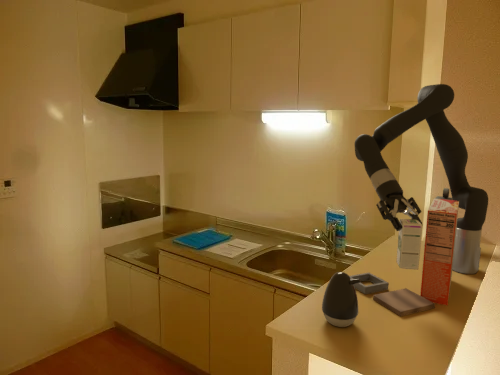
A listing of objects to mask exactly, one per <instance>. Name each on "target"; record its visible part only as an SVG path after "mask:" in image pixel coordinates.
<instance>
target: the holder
mask: <svg viewBox="0 0 500 375" xmlns="http://www.w3.org/2000/svg"><path fill="white" fill-rule="evenodd" d="M349 276H350V278H351V279H360V283H356V284H354V287H355V290H357V291H359V292H361V293H362V294H364V295H368V294H373V293H378V292H382V291H383V292H384V291H388V290H389V282H387V281H386V280H384V279H383V278H381V277H378V276H377V275H375V274H373V273H371V272H363V273H360V274H352V275H349ZM365 281H369V282H371V283H372V284H368V285H366V284H363V282H365Z"/></svg>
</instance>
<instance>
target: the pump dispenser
mask: <svg viewBox="0 0 500 375" xmlns="http://www.w3.org/2000/svg"><path fill="white" fill-rule="evenodd" d="M350 276H351V275H349V274H348V273H347V272H343V271H337V272H335V273H334V274H333V275H332V276H331V278H330V279H329V281H328V283H327V285H326V288H325V290H324V294H323V298H322V304H321V311H322V313H323V316H324V319H325V320H326V321H327V322H328V323H329V324H331V325H333V326H335V327H338V328H346V327H348V326H350V325H352V324H353V323H355V320H356V319H357V316H358V314H359V299H358V294H357V291H356V290H357V289H356V288H355V287H354V284H356V283H361V282H360V279H351V278H350Z"/></svg>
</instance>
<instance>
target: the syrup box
mask: <svg viewBox="0 0 500 375" xmlns="http://www.w3.org/2000/svg"><path fill="white" fill-rule="evenodd" d="M399 222H400V223H401V225H402V229H401V230H400V231H398V237H397V239H398V240H397V248H396V249H397V250H396V263H397V265H398V267H399V269H405V270H419V269H420V268H419V267H420V257H421V246H422V245H421V244H422V233H423V232H422V231H423V223H422V224H421V223H420V222H419V221H418V220H414V219H412V218H399Z"/></svg>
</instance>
